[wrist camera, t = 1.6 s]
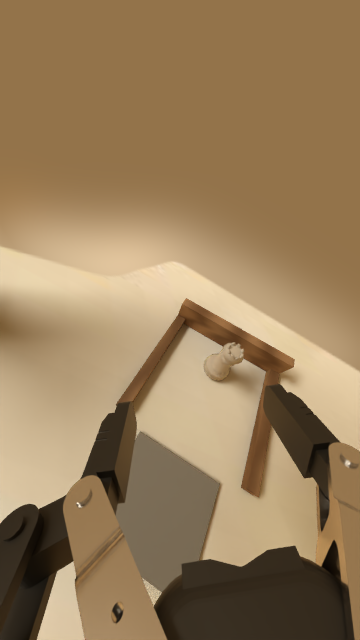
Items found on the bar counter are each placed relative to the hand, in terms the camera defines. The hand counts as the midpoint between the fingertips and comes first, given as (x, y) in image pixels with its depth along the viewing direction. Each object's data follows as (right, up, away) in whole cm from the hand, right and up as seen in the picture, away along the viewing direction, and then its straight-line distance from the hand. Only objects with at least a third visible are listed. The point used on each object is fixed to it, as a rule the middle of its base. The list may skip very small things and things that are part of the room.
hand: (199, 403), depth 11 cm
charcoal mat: (-4, -16, +10) cm, 20 cm away
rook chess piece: (+5, -4, +21) cm, 22 cm away
